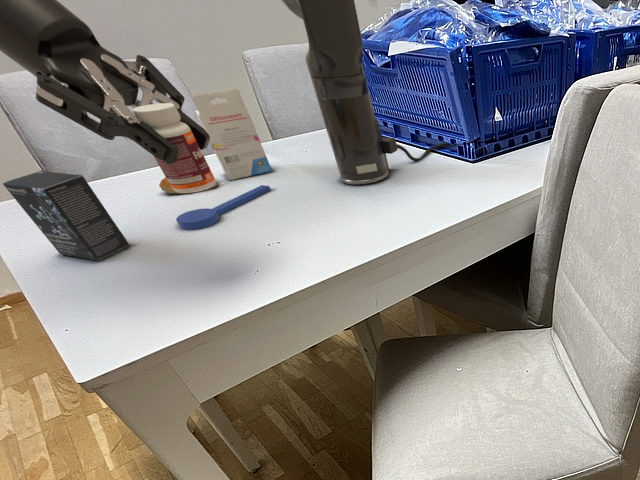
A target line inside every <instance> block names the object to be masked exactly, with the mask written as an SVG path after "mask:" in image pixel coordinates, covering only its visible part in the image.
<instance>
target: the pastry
mask: <svg viewBox="0 0 640 480" xmlns="http://www.w3.org/2000/svg"><path fill="white" fill-rule="evenodd" d="M158 185H159V188H160V189H161V191H162V192H165V193H168V194H173V195H181V194H182V193H178V192H175V191H174V190H173V189H172V187H171V186H170V184H169V182H168V180H167V178H166V177H165V176H164V178H162V179H161V180H160V183H159V184H158ZM217 186H218V183H217V182H216V183H215V185H214V186H212V187H211V188H208V189H206V190H211V189H214V188H216V187H217ZM206 190H205V191H206Z"/></svg>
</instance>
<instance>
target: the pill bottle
mask: <svg viewBox="0 0 640 480" xmlns="http://www.w3.org/2000/svg"><path fill="white" fill-rule="evenodd" d="M132 113H133V114H134V115H135V116H136V117H137V119H138V123H141V122H144V123H145V124H147V125H148V126H149V127H151V128H152V129H153V130H155V131H156V132H157V133H159V134H160V135H161V136H162V137H164V138H165V139H166V140H168V141H169V142H170V143H172V144H173V145H174V146H175V147H176V148H177V149H178V155H177V159H176V161H175V162H174V163H172V164H167V163H166V162H164V161H162V160H160V159H158V158H156V157H155V156H153V158H154V160H155V161H156V162H157V165H158V166H159V168H160V170H161V172H162V173H163V175H164V178H165V177H166V178H167V180H168V182H169V184H170V186H171V187H172V189H173V190H174V191H175V192H178V193H181V194H190V193H198V192H202V191H206V189H208V188H211V187H212V186H214V185H215V183H217V180H216V178H215V176H214V174H213V172H212V169H211V167H210V166H209V164H208V161H207V159H206V157H205V155H204V153H203V152H202V150H201V149H200V147H199V145H198V143H197V141H196V139H195V137H194V135H193V133H192V131H191V129H190V128H189V126H188V125H186V124H185V123H182V122H181V121H180V119H181V117H180V114H179V113H178V111H177V109H176V107H175V105H174V104H171V103H153V104H150V105H144V106H139V107H136V108H134V109H133V108H132ZM208 190H209V189H208Z"/></svg>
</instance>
